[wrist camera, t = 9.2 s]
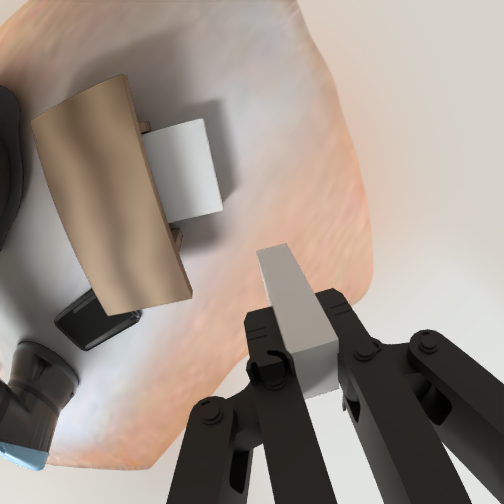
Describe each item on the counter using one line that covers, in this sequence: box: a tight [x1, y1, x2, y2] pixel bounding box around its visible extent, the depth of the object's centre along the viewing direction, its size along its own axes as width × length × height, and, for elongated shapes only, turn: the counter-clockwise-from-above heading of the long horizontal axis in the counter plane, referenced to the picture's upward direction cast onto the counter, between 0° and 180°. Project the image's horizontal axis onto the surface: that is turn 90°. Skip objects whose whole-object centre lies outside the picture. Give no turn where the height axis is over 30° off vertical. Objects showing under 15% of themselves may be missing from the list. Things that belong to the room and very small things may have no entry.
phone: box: [54, 289, 141, 351], centre depth 37 cm, size 8×1×15 cm
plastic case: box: [141, 118, 223, 223], centre depth 29 cm, size 14×10×3 cm
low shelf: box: [30, 74, 193, 316], centre depth 27 cm, size 11×24×6 cm, turn 12°
